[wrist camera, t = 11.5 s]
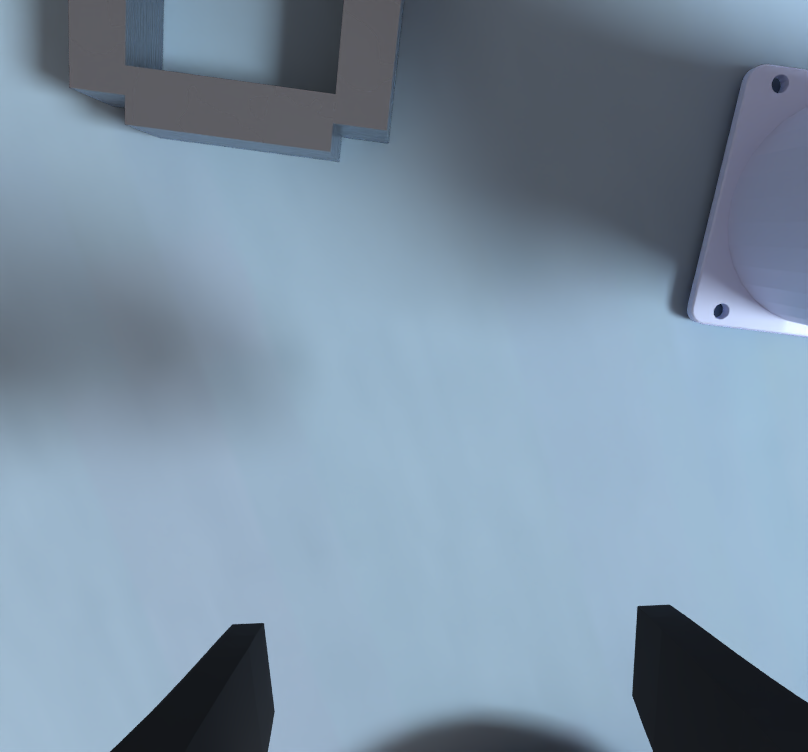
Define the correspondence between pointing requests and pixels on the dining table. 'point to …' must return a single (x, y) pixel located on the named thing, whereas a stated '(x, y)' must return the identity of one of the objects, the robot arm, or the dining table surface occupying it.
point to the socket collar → (236, 83)
